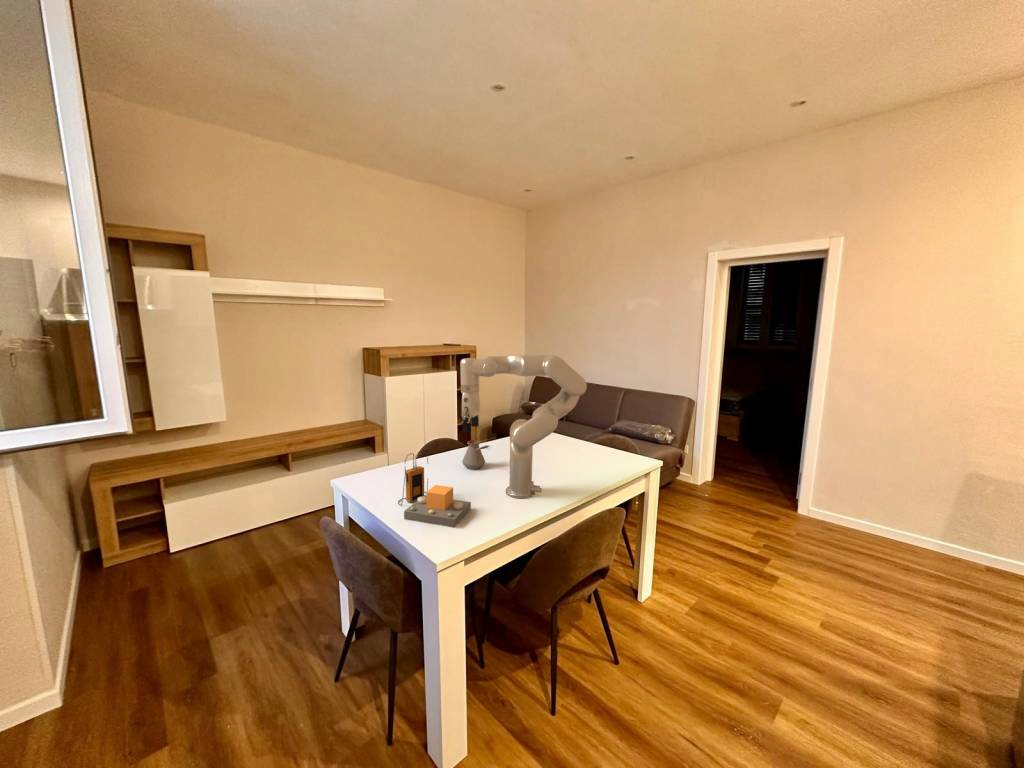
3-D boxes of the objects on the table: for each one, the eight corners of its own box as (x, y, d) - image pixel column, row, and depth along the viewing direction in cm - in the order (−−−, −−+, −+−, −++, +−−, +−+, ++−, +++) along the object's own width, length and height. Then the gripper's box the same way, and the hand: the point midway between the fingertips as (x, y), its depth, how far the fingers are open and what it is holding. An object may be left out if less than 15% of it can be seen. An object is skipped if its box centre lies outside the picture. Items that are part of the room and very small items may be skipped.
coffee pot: (458, 465, 205) (458, 436, 203) (478, 461, 211) (478, 433, 209) (478, 479, 187) (478, 447, 185) (499, 474, 193) (499, 444, 191)
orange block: (453, 502, 155) (453, 487, 154) (444, 510, 148) (444, 494, 147) (435, 499, 157) (435, 484, 156) (426, 507, 150) (426, 492, 149)
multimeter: (416, 488, 175) (416, 443, 172) (431, 495, 169) (431, 448, 166) (387, 499, 164) (385, 451, 161) (402, 506, 158) (401, 457, 155)
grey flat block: (470, 509, 156) (470, 498, 156) (454, 527, 142) (454, 515, 141) (424, 502, 162) (424, 491, 161) (404, 519, 147) (403, 507, 147)
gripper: (471, 392, 156) (472, 435, 158) (485, 385, 173) (486, 424, 175) (453, 391, 158) (454, 434, 160) (469, 385, 174) (469, 423, 177)
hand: (470, 429), depth 168 cm, fingers open, 9 cm apart
